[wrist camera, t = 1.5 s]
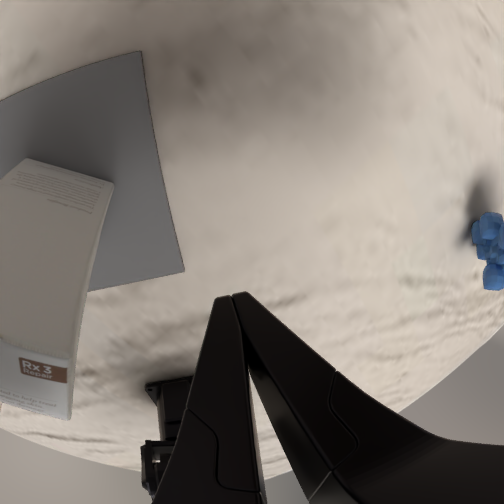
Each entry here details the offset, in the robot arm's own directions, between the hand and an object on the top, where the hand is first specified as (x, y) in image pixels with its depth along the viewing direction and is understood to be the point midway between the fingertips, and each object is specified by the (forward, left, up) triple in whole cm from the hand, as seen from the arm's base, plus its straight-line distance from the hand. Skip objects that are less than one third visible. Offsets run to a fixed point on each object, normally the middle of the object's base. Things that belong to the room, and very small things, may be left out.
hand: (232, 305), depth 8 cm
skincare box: (0, +8, -11) cm, 14 cm away
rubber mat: (0, +13, -11) cm, 17 cm away
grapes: (-10, -26, -11) cm, 30 cm away
